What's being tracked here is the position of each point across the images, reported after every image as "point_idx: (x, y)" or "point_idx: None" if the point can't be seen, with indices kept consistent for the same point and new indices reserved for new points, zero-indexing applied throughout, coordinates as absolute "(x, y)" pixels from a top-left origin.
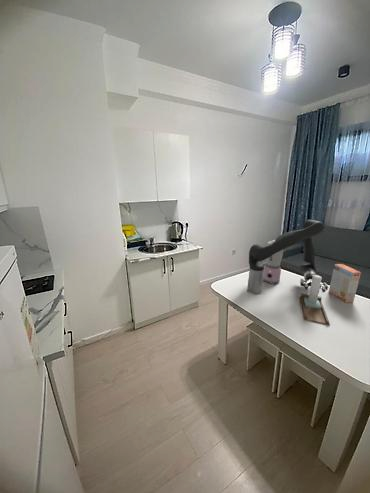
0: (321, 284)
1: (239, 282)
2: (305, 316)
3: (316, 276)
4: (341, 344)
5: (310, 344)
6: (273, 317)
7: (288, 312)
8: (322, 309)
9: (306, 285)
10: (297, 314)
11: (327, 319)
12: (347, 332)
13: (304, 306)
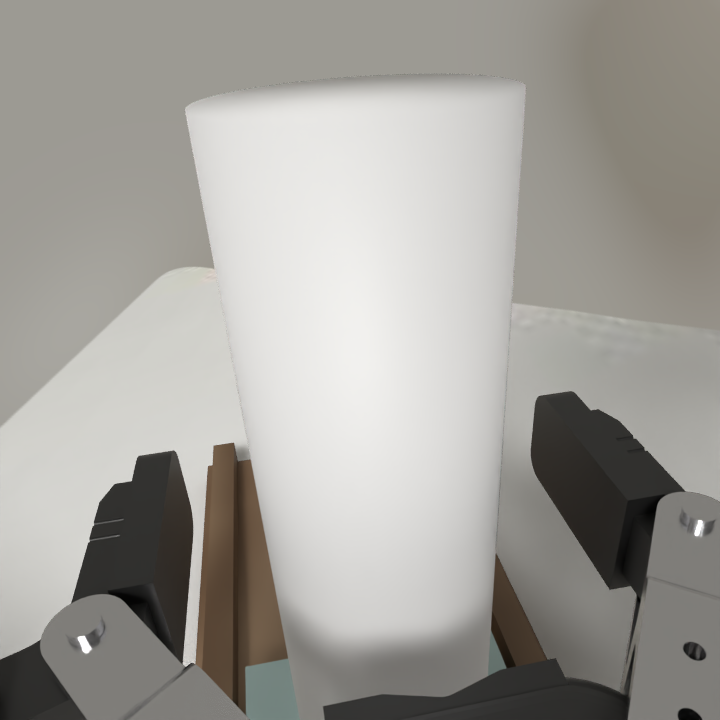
0: (131, 716)
1: None
2: None
3: (380, 96)
4: (189, 357)
5: None
6: (663, 368)
7: None
8: (233, 643)
9: (602, 427)
10: (516, 485)
11: (221, 467)
12: (82, 463)
13: None
